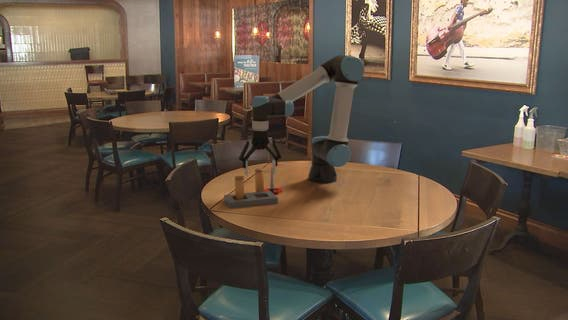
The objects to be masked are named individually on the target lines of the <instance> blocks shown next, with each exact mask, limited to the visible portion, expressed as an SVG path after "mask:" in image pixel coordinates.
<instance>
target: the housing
mask: <svg viewBox="0 0 568 320" xmlns="http://www.w3.org/2000/svg"><path fill="white" fill-rule="evenodd" d="M223 201H224V202H225V205H227V206H228V208H229V209H233V208H234V209H236V208H237V209H238V208H245V207H255V206H264V205H273V204H279V197H278V196H277V195H276V194H273V193H272V192H271V191H263V192H256V191H255V192H244V199H241V200H235V193H233V194H231V193H230V194H224V195H223Z"/></svg>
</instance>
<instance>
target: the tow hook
mask: <svg viewBox="0 0 568 320" xmlns="http://www.w3.org/2000/svg"><path fill="white" fill-rule="evenodd" d="M264 191H271V192H272V193H273V194H274V195H280V193H282V191H283V190H282V188H280V187H274V174H273V167H272V166H271V167H270V183H269V187H267V188H264Z"/></svg>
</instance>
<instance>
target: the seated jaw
mask: <svg viewBox="0 0 568 320" xmlns="http://www.w3.org/2000/svg"><path fill="white" fill-rule="evenodd" d="M244 193H245V176H243V175H236V176H235V177H234V194H235V200H241V199H244Z"/></svg>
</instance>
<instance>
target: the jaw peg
mask: <svg viewBox="0 0 568 320" xmlns="http://www.w3.org/2000/svg"><path fill="white" fill-rule="evenodd" d="M264 174H265V173H264V168H261V167H260V168H259V167H258V168H255V169H254V179H255V181H254V183H255V186H254V187H255V192H263V191H264V190H265V185H264V183H265V181H264V177H265V176H264Z"/></svg>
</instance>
